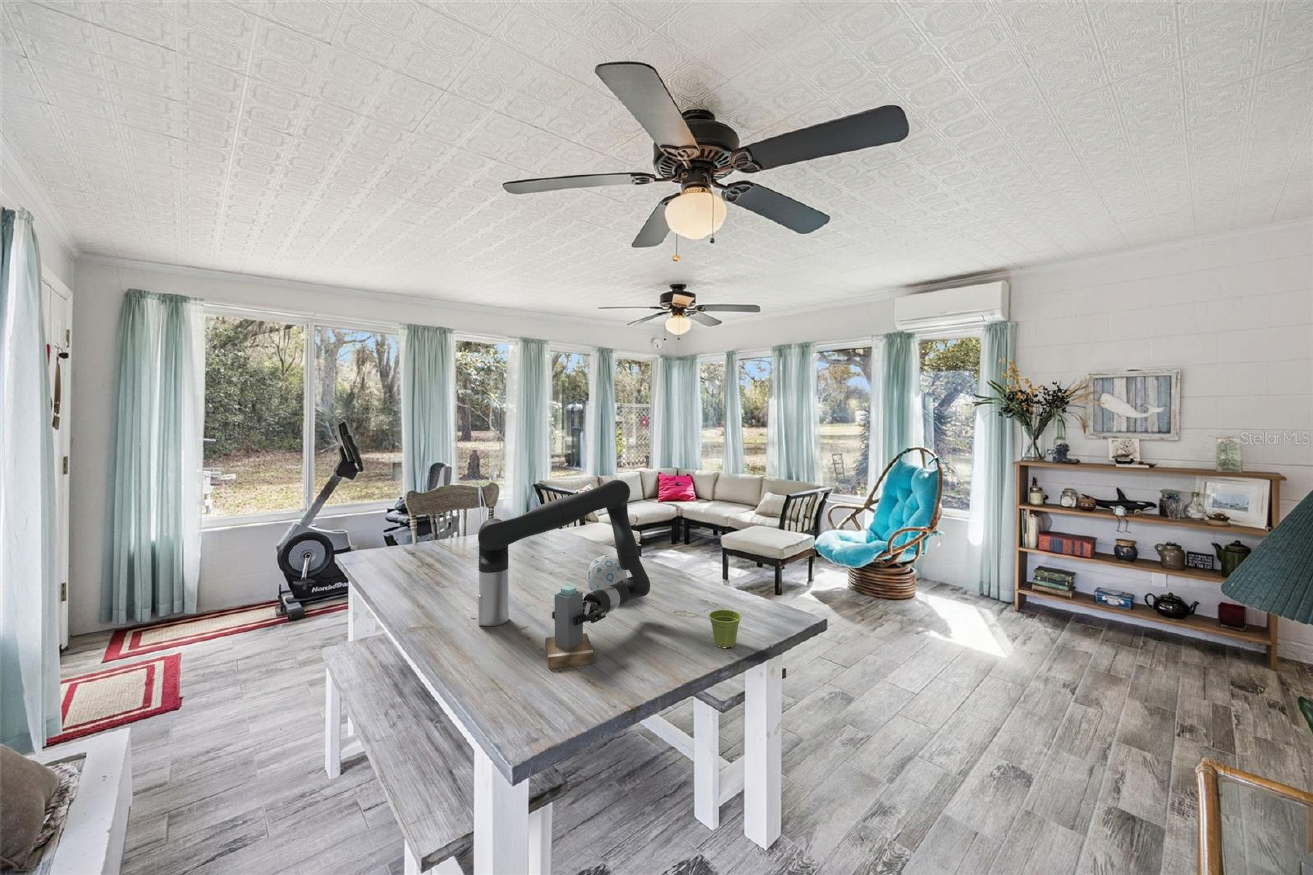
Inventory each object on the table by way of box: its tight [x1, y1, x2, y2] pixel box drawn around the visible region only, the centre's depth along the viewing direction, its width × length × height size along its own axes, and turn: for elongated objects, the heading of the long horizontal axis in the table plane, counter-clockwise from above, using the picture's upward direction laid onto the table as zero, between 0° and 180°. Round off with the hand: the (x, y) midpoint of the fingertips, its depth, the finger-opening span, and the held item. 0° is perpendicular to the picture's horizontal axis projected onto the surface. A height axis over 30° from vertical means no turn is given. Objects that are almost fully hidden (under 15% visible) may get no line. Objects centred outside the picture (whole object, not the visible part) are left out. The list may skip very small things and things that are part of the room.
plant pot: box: [708, 609, 742, 648], centre depth 150 cm, size 9×9×9 cm
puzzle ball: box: [586, 554, 628, 592], centre depth 192 cm, size 15×15×15 cm
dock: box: [544, 632, 595, 670], centre depth 143 cm, size 12×13×3 cm
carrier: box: [554, 589, 584, 651], centre depth 143 cm, size 6×5×14 cm
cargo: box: [560, 585, 577, 597], centre depth 143 cm, size 3×3×3 cm
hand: (563, 618), depth 141 cm, fingers open, 7 cm apart
